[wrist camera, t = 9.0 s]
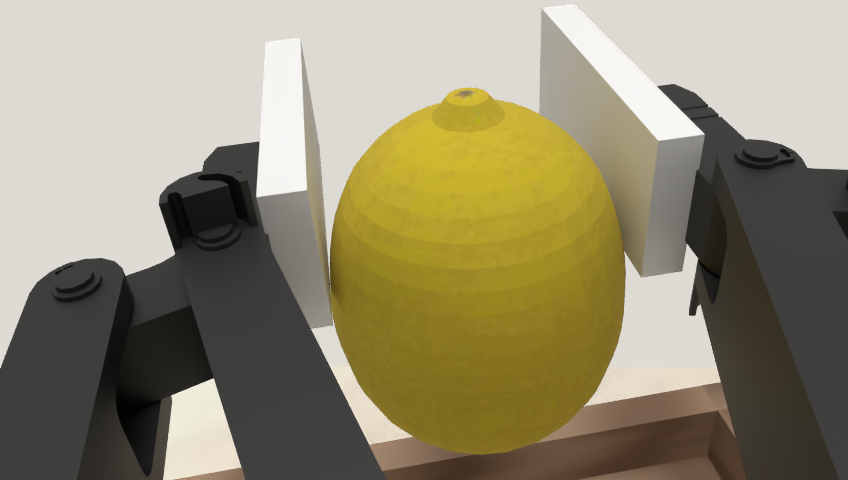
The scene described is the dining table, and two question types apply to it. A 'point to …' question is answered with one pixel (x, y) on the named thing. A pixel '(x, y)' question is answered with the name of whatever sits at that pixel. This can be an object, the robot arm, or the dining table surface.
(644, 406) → the brown wooden tray
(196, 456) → the dining table surface
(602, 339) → the lemon
